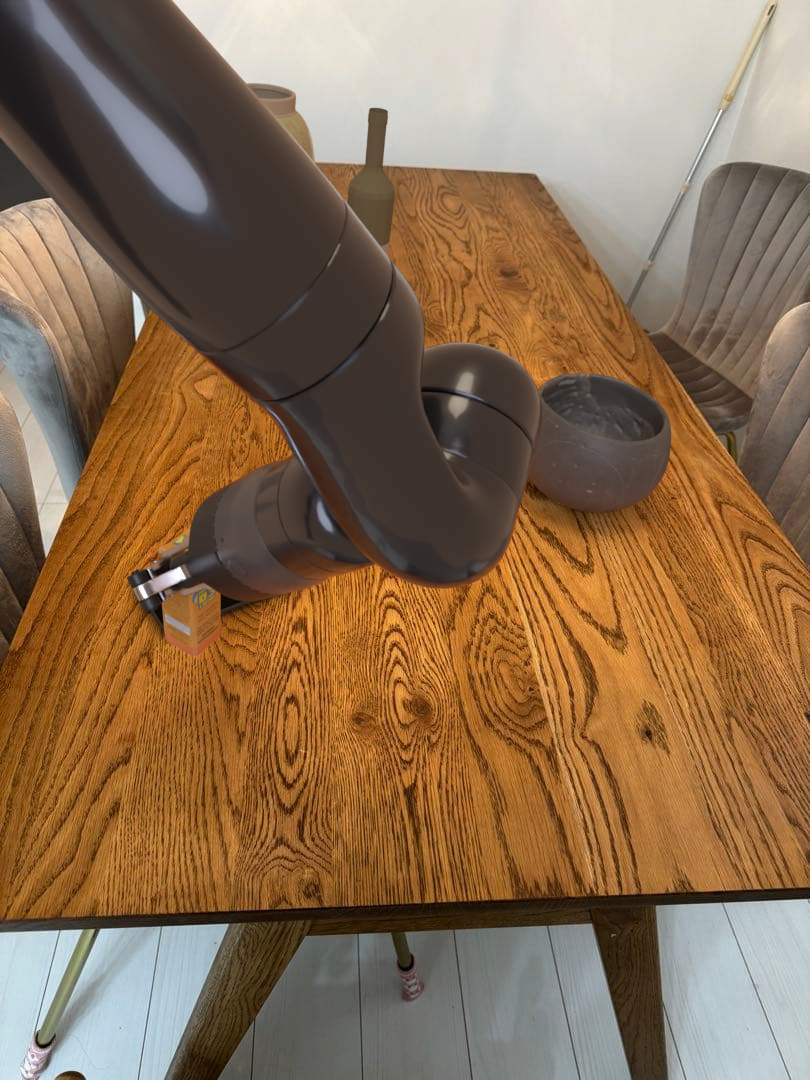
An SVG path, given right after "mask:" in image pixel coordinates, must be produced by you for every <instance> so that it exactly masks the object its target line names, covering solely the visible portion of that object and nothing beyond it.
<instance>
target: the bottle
mask: <svg viewBox="0 0 810 1080" xmlns="http://www.w3.org/2000/svg"><path fill="white" fill-rule="evenodd" d="M388 121H389V110H387V109H384V108H381V107H370V108H369V109H368V114H367V123H368V124H367V135H366V136H367V137H366V149H365V162H364V165H363V168H362V169H361V170H360V171H359V172H358V173H357V174H355V176H353V178H352V179H351V180H350V181H349V183H348V190H347V204H348V205H349V206H350V208H351V209H352V210H353V211H354V213H355V214H356V215H357V217H358V218H359V219H360V220H361V222H362V223H363V224H364V225H365V227H366V228H367V229H368V231H369V232H370V233H371V234H372V236H373V237H374V238H375V239H376V241H377V242H378V243H379V245H380V246H381V247H382V248H383V250H384V251H385V252H386V254H387V255H388V256H389V250H390V241H391V232H392V225H393V223H392V222H393V216H394V208H395V201H396V200H395V199H396V190H395V189H396V187H395V185H394V184H393V182H392V180H391V179H390V178H389V176H388V175H387V173H386V172H385V170H384V155H385V145H386V136H387V135H386V133H387V125H388Z"/></svg>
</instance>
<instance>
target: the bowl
mask: <svg viewBox="0 0 810 1080" xmlns="http://www.w3.org/2000/svg"><path fill="white" fill-rule="evenodd" d="M537 389H538V391H539V395H540V400H541V406H542V420H541V429H540V434H539V438H538V442H537V446H536V449H535V453H534V457H533V460H532V464H531V468H530V472H529V475H528V479H529V481H530V482H531V483H532V484H533V486H535V488H536V489H538V490H539V492H541V493H542V494H543V495H544V496H546V497H547V498H548V499H549V500H552V501H553V502H554V503H557V504H559V505H561V506H564V507H565V508H569V509H572V510H575V511H580V512H585V513H586V512H587V513H611V512H617V511H622V510H625V509H628V508H630V507H633V506H634V505H637V504H638V503H640V502H641V501H644V500H645V499H646V498H647V497H648V496H649V495H651V493H653V491H655V489H656V488H657V487H658V486H659V484H660V483H661V481H662V479H663V477H664V475H665V473H666V471H667V468H668V465H669V461H670V455H671V449H672V448H671V446H672V427H671V426H672V425H671V422H670V418H669V415H668V413H667V412H666V410H665V409H664V407H663V405H662V404H661V403H660V402H659V401H658V400H657V399H656V398H654V397H653V396H652V395H651V394H649V393H647V392H646V391H645V390H643V389H642V388H639V387H637V386H635V385H633V384H631V383H629V382H626V381H624V380H623V379H622V380H621V379H619V378H617V377H613V376H609V375H606V374H600V373H590V374H587V373H585V372H575V373H571V372H570V373H563V374H560V375H558V376H555V377H552V378H550V379H548V380H547V381H546V382H544V383H543V384H541V385H540V387H538V388H537Z"/></svg>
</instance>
